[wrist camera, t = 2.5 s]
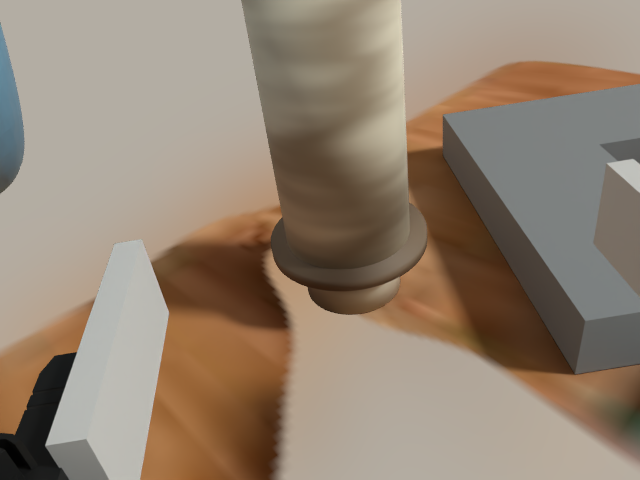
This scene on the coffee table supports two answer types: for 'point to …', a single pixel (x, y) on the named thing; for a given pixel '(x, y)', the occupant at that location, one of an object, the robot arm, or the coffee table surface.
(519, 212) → the leg board
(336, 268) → the ash leg
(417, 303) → the coffee table surface
